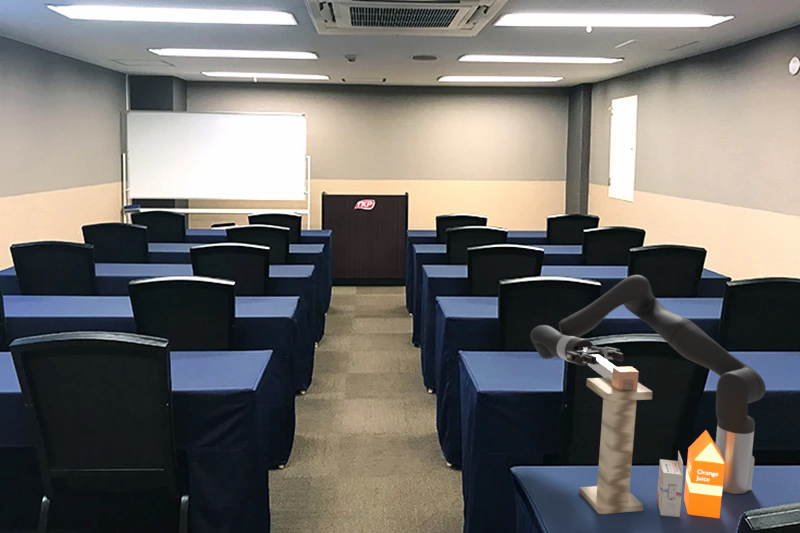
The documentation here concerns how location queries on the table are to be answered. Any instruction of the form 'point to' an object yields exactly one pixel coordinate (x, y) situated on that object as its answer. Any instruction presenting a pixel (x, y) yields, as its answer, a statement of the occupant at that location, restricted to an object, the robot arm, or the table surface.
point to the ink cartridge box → (670, 487)
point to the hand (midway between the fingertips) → (609, 359)
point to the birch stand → (615, 449)
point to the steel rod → (616, 374)
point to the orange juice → (704, 478)
